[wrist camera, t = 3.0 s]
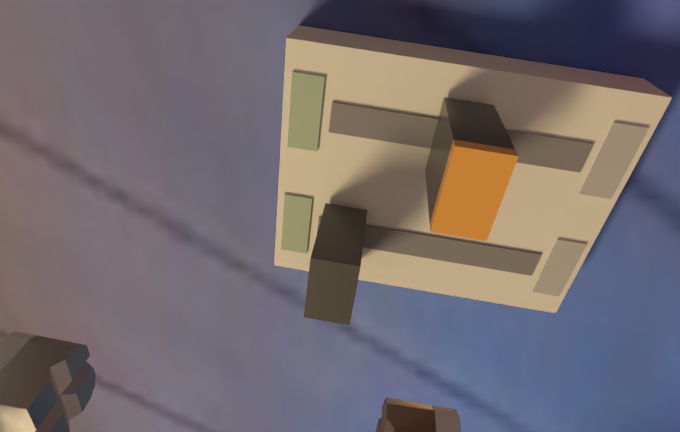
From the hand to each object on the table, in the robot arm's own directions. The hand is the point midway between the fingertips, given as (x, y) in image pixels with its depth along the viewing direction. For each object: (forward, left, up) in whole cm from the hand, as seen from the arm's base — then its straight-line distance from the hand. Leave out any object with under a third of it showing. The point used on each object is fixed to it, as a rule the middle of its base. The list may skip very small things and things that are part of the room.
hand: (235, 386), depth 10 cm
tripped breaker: (0, -6, -16) cm, 17 cm away
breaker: (-7, -1, -16) cm, 17 cm away
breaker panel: (-3, -7, -19) cm, 20 cm away
